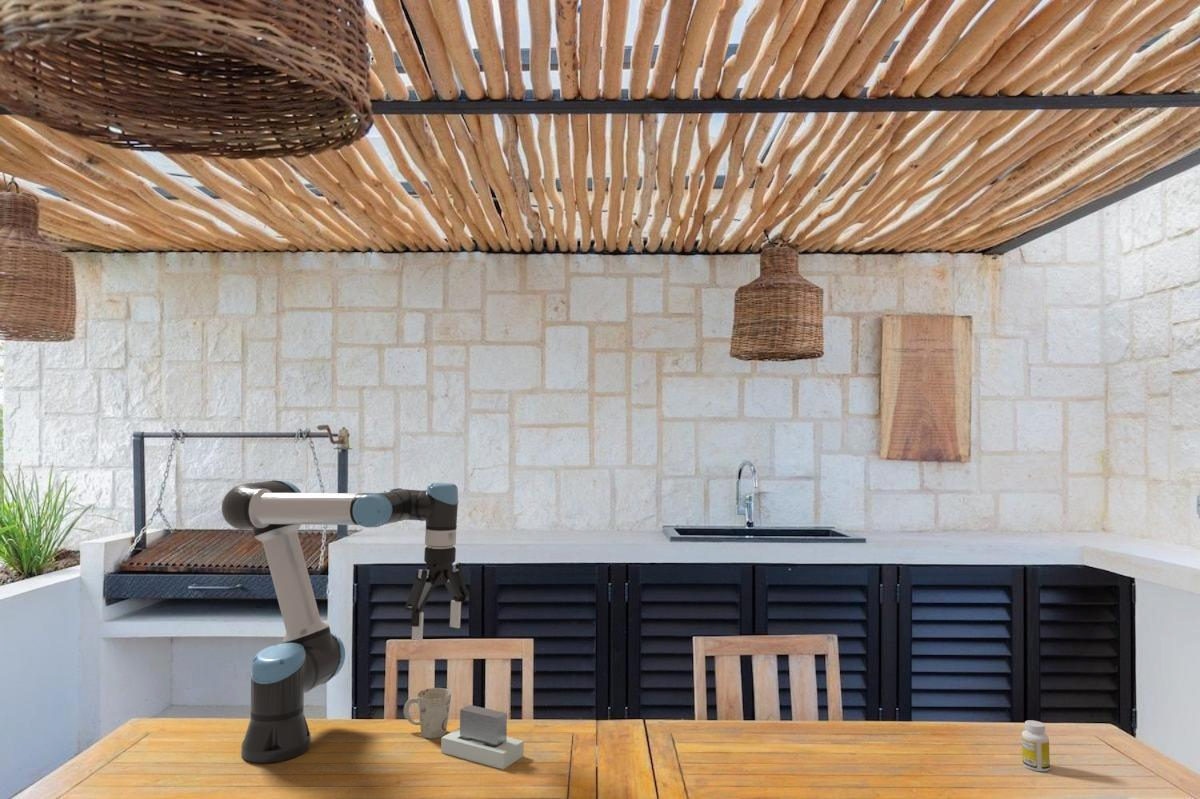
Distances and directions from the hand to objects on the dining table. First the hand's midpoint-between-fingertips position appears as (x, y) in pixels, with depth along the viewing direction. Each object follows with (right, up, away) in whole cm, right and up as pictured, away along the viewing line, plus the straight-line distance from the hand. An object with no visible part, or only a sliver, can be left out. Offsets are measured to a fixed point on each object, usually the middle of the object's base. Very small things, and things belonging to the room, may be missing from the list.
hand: (436, 633), depth 183 cm
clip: (+13, -26, -8) cm, 30 cm away
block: (+12, -26, -8) cm, 30 cm away
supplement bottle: (+140, -27, -13) cm, 143 cm away
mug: (-4, -27, +4) cm, 27 cm away
